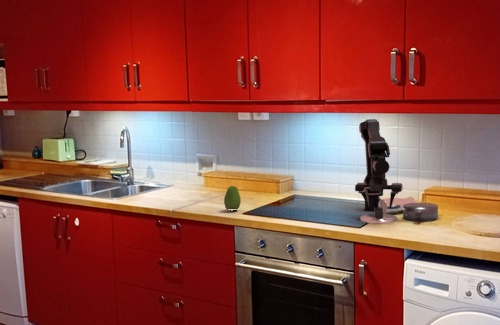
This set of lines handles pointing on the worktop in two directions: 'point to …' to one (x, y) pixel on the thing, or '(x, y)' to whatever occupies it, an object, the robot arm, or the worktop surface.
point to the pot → (420, 212)
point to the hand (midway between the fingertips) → (379, 207)
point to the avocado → (232, 198)
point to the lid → (378, 217)
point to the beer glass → (394, 204)
